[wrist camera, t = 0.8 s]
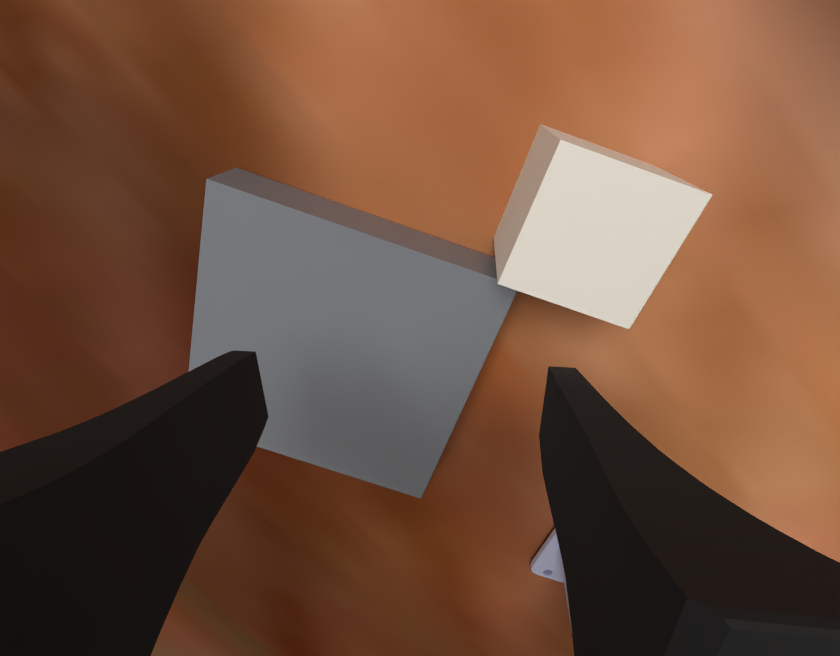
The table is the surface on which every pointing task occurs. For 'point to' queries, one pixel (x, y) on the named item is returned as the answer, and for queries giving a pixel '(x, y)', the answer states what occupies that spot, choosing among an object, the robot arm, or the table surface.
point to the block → (592, 227)
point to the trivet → (344, 326)
